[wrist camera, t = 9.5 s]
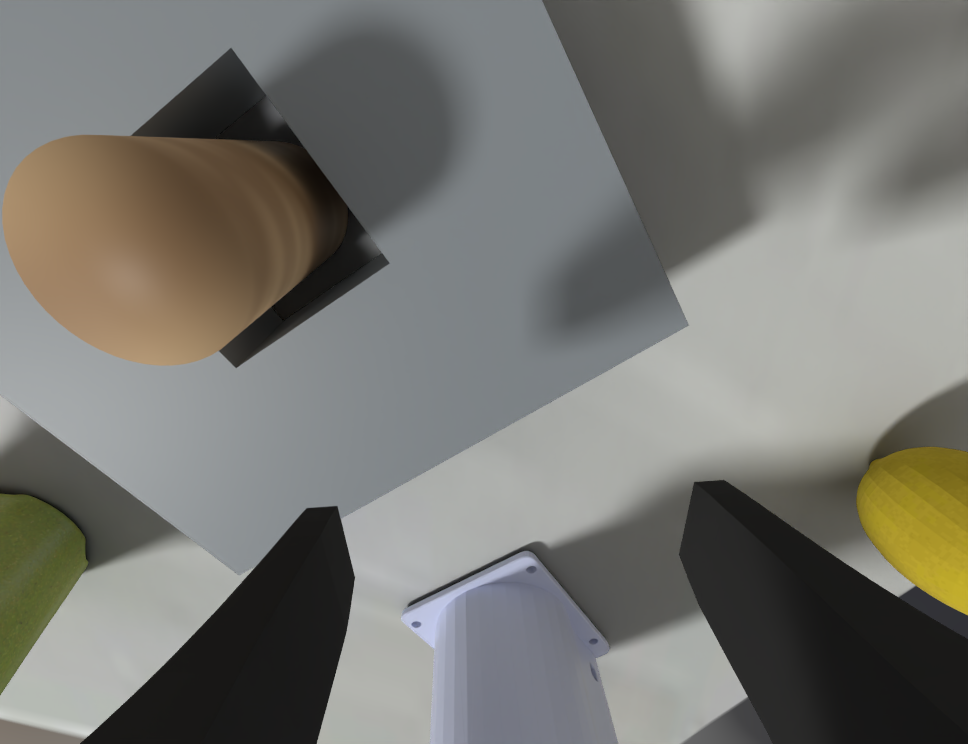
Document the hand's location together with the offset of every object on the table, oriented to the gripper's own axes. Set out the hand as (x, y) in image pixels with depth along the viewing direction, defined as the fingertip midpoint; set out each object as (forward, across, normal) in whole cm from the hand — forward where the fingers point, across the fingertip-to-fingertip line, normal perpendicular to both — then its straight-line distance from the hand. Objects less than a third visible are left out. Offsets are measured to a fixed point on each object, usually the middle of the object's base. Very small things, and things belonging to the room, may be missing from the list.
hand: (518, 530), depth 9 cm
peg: (+9, +7, -6) cm, 13 cm away
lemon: (+10, -18, +7) cm, 21 cm away
